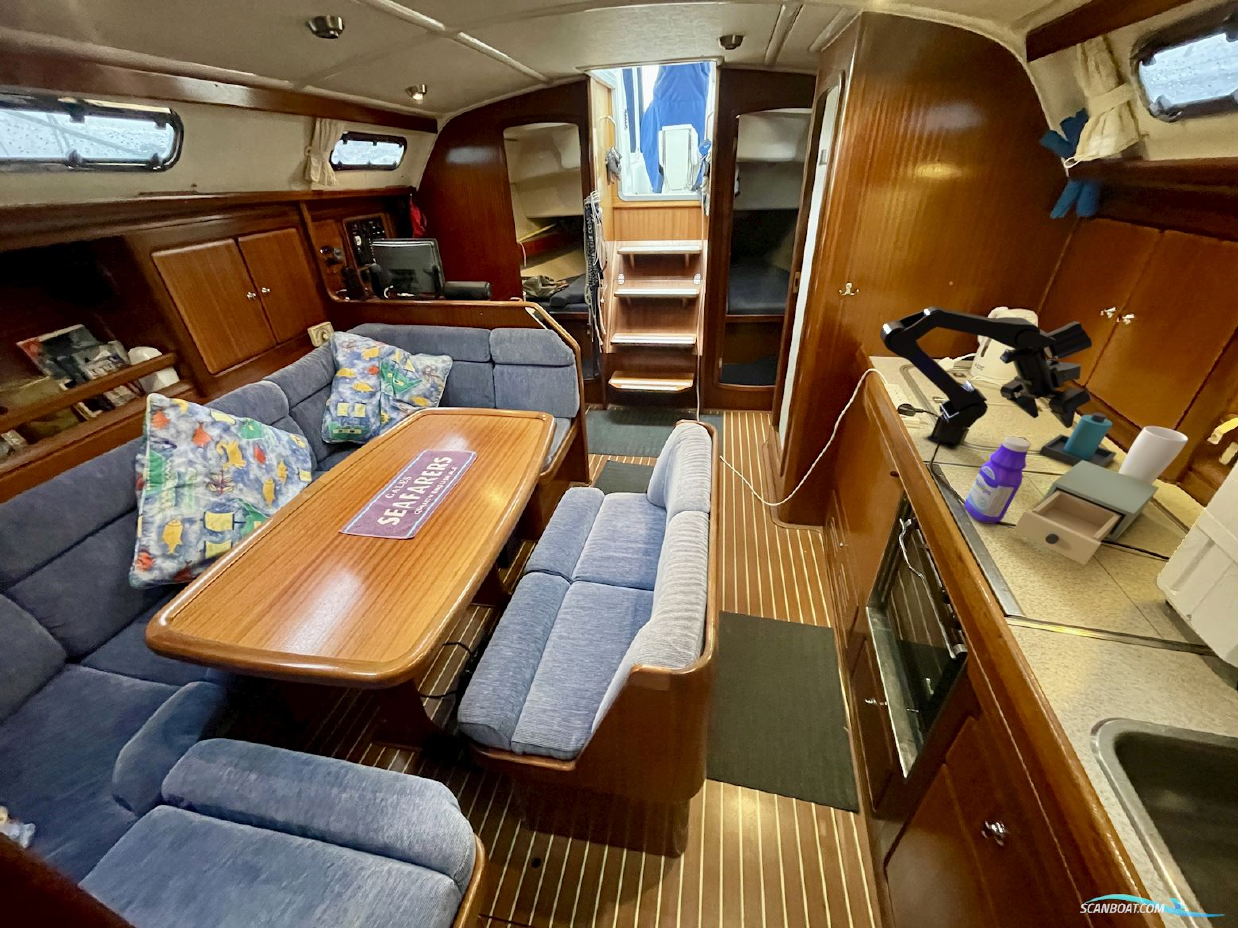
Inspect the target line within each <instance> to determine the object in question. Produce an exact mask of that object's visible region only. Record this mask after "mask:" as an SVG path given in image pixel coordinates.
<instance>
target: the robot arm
mask: <svg viewBox="0 0 1238 928" xmlns="http://www.w3.org/2000/svg"><path fill="white" fill-rule="evenodd" d="M936 328H940V329H945V330H949V331H955V332H960V333H964V334H969V335H975V336H981V337H984V338H988V339H991V340H993V341H994V342H997V343H1000V344H1002V345H1004V346H1007V347H1008V348H1012V349H1008V348H1006V349H1005V350H1004V352H1003V353H1002V354H1001V355H1000V356H999V360H1001V362H1003V363H1004V364H1006V365H1008V364H1010V363H1012V364H1013V366H1014V368H1015V371H1016V373H1017V374H1016V376H1013V379H1012V380H1009V381H1008V382H1006V383H1004V384H1003V385H1002V386H1001V388H1000V389H999V392H1000V394H1001V398H1005V399H1006V400H1007V401H1009V402H1010V403H1011V404H1013V405H1015V406H1016V407H1017V408H1019V409H1020V410H1022V411H1023V412H1025V413H1026V414H1027V415H1029V416H1030V417H1031V418H1033V419H1037V418H1038V417H1039V416H1040V415H1039V409H1038V405H1037V401H1036V400H1038V399H1040V398H1043V399H1047V400H1049V401H1048V408H1050V409H1051V410H1050V413H1051V415H1053V416H1054V417H1055V418H1056V419H1057V420H1058V421H1059V423H1060V424H1061V425H1062V426H1064V428H1066V429H1069V428H1071V427H1073V424H1074V419H1075V415H1076V411H1077V409H1078V408H1080V407H1081V406H1083V405H1085V404H1088V403H1089V402H1090V401H1092V397H1091V393H1090V391H1089V390H1083V389H1079V388H1075V387H1068V388H1067V389H1064V390H1063V391H1061V390H1057V388H1059V389H1060V388H1062V387H1064V386H1065V383H1066V382H1069V381H1074V380H1075V381H1078V380H1080V379H1081V372H1082V371H1081V370H1082V364H1078V363H1074V362H1073V363H1072V362H1062V361H1060V360H1062V359H1065V358H1068V357H1070V356H1073V355H1075V354H1078V353H1080V352H1083V351H1085V350H1088V349H1090V348H1092V346H1093V343H1092V339H1091V337H1090V336H1089V335H1088V334H1087V331H1085V329H1084V328H1083V327H1082V324H1081V322H1079V321H1077V320H1074V321H1072V322H1069V323H1067V324H1066V325H1063V326H1062V327H1059V328H1056V329H1054V330H1052V331H1049V332H1046V331H1045V330H1043V329H1040V328H1039V326H1037V325H1036V324H1034V323H1032V322H1031V321H1030V320H1028V319H1026V318H1024V317H1013V316H1003V317H987V316H982V315H979V314H972V313H967V312H963V311H957V310H952V309H947V308H942V307H939V306H937V305H932V306H929V307H927V308H925V309H922V310H920V311H917V312H915V313H912V314H909V315H906V316H904V317H901V318H900V319H897V320H891V321H889V322H887V323H885V324H884V325H883V326H882V328H881V329H880V332H879V337H880V339H881V341H882V343H883V344H884V346H885V348H886V349H887V350H888V351H890V352H891V353H893V354H895V355H897V356H898V357H900V358H903V359H905V360H907V361H909V362H910V363H911V364H912V365H913V366H914V367H915V368H916V369H917V370H918V371H919V372H921V373H922V374H923V376H925V377H926V379H928V380H929V381H930V382H931V383H932V384H933V385H934V386H935V387H936V388H938V390H940V391H941V392H942V393H943V394H944V395H945V396H946V397H947V399H946V400H944V401H943V402H941V403H939V408H938V409H939V413H941V414H940V415H938V417H937V419H936V422H935V424H934V427H933V429H932V431H931V434H930V435H928V436H927V437H926V439H927V440H929V441H931V442H934V443H936V444H939V445H941V446H943V447H944V446H945V447H946V448H949V449H955V448H956V447H958V446H961V445H962V444H964V442H965V441H966V439H967V436H968V434H969V431H970V428H971V427H972V426H973V425H974V424H975V423H976V422H977V420H979V419H981V418H982V417H984V416H985V414H986V413H987V412H988V408H989V406H988V404H987V403H986V402H987V401H988V399H987V397H986V396H985V395H984V394H983V393H982V391H980V390H979V389H978V388H976V387H975V386H974V385H973V384H972V383H971V382H970V381H969V380H966V381H965V382H964V383H962V382H959V381H957V380H956V379H955V378H954V377H953V376H952V375H951V374H950V373H948V371H946V369H944V367H942V366H941V364H939V363H938V362H937V361H936V360H935V359H934V358H933V357H932V356H931V355H929V353H927V352H926V351H925V349H923V348H922V347H921V345H920V344H919V342H918V340H920V339H922V338H923V337H924V336H925V335H926V334H928V333H929V332H931V331H932V330H935V329H936ZM1046 355H1047V356H1048V357H1049V359H1047V356H1046ZM1053 358H1055V359H1053Z"/></svg>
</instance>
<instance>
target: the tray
mask: <svg viewBox="0 0 1238 928" xmlns="http://www.w3.org/2000/svg"><path fill="white" fill-rule="evenodd" d="M1069 438H1070V436H1067V435H1064V434H1062V433H1061V434H1058V435H1057V436H1056V437H1054V438H1053V439H1051V440H1050V441H1048V442H1047V443H1045V444H1044V445H1043V446H1042V447H1041V449H1040V450H1039V452H1038V454H1041V455H1044V456H1045V457H1046V456H1047V457H1049V458H1052V459H1055V460H1057V461H1060V462H1063V463H1066V464H1067V465H1071V466H1072V467H1074V466H1075V465H1076V464H1078V463H1079V462H1080V461H1082V460H1083V459H1080V458H1078V457H1075V456H1072V455H1069V454H1066V453H1063V452H1062V450H1063V448H1064V446H1065V445H1066V443H1067V441H1068V439H1069ZM1117 454H1118V452H1115V451H1112V450H1110V449H1106V448H1105V447H1101V446H1099V447H1098V448H1097V450H1096V451H1095V453H1094V455H1093V456H1092V458H1091V459H1090V460H1084V461H1086V462H1089V463H1092V464H1095V465H1098V466H1100V467H1103V468H1105V467H1106V466H1107V465H1108V464H1109V463H1111V462H1112V461H1113V460H1114V458H1115V457H1116V455H1117Z"/></svg>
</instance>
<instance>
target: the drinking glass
mask: <svg viewBox="0 0 1238 928" xmlns="http://www.w3.org/2000/svg"><path fill="white" fill-rule="evenodd" d="M1188 441H1189V438H1188V436H1186V435H1185V434H1183V433H1182V432H1179V431H1177V430H1174V429H1172V428H1171V429H1170V428H1167V427H1163V426H1157V425H1147V426H1144V427H1143V428H1142V429H1141V430H1140V432H1139V434H1138V435H1137V437H1136V438H1135V440H1134V441H1133V443H1132V445H1131V446H1130V448H1129V450H1128V451H1127V454H1126V456H1125V457H1124V459H1123V461H1122V464H1121V465H1120V467H1119V469H1118V471H1117V473H1120V474H1123V475H1126V476H1128V477H1131V478H1134V479H1137V480H1140V481H1142V482H1145V483H1148V484H1151V485H1153V483H1154V482H1155V481H1156V480H1157V479H1159V477H1160V476H1161V475H1162V474H1163V472H1164V471H1165V470H1167V468H1168V467H1169V466H1170V465H1171V464H1172V462H1173V461H1175V459H1176V458H1177V457H1178V455H1180V453H1181V452H1182V451H1183V448H1184V447H1185V446H1186V444H1187V442H1188Z"/></svg>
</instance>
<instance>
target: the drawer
mask: <svg viewBox="0 0 1238 928" xmlns="http://www.w3.org/2000/svg"><path fill="white" fill-rule="evenodd" d="M1120 517H1121V515H1119V514H1117V513H1114V512H1112V511H1109V510H1107V509H1104V508H1102V507H1099V506H1097V505H1094V504H1092V503H1089V502H1087V501H1084V500H1082V499H1079V498H1077V497H1074V496H1072V495H1070V494H1067V493H1065V492H1062V491H1060V490H1057V491H1056V492H1055V493H1054V494H1052V495H1051V496H1050V497H1049V498H1047V499H1046V500H1045V501H1044V502H1042V501H1041V503H1040V504H1039V505H1037V506H1036V507H1035V508H1033V509H1032V511H1031V510H1028V509H1026V510H1024V511H1023V512H1022V514H1021V516H1020V518H1019V519H1018V521H1017V523H1016V524H1015V526H1014V528H1013V530H1012V532H1014V533H1016V534H1017V535H1021V536H1022V537H1025V538H1027V539H1028V540H1031V541H1033V542H1035V543H1037V544H1039V545H1041V546H1044V547H1046V548H1047V549H1050V550H1052V551H1054V552H1056V553H1058V554H1060V555H1062V556H1065V557H1066V558H1068V559H1071V560H1072V561H1074V562H1076V563H1079V564H1081V565H1083V566H1086V565H1087V564H1088V563H1089V562H1090V560H1091V559H1092V557H1093V556H1094V555H1095V553H1096V551H1097V550H1098V549H1099V547H1100V546H1101V544H1102V541H1103V540H1104V539H1105V538H1107V537H1106V535H1107V534H1108V533H1109V532H1110V531H1111V529H1112V528H1113V527H1114V525H1115V524H1116V522H1117V521H1118V520H1119V518H1120Z"/></svg>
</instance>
